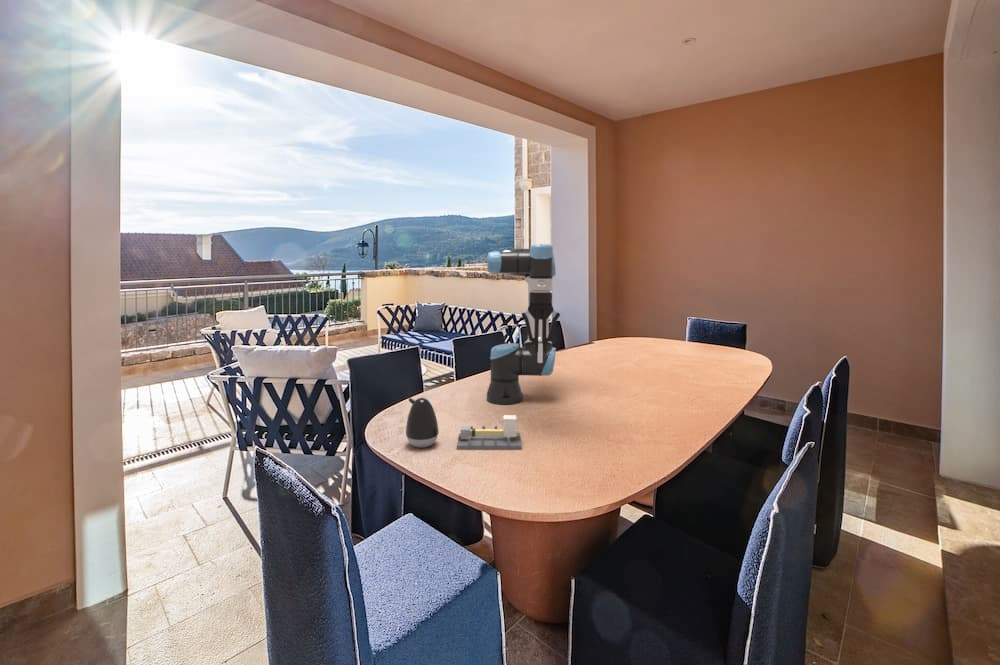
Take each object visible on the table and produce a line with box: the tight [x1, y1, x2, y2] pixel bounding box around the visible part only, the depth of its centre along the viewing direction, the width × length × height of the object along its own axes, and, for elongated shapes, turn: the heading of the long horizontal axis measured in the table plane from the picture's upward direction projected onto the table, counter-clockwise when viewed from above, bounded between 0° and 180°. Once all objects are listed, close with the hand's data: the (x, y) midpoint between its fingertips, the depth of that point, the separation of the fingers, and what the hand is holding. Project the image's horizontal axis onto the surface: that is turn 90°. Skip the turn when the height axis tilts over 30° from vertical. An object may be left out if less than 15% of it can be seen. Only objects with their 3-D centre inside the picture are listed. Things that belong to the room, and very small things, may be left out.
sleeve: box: [502, 414, 517, 437], centre depth 155 cm, size 4×4×6 cm
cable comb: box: [456, 425, 523, 450], centre depth 155 cm, size 20×11×5 cm, turn 90°
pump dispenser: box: [405, 397, 439, 449], centre depth 153 cm, size 10×10×15 cm
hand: (539, 362), depth 164 cm, fingers closed
